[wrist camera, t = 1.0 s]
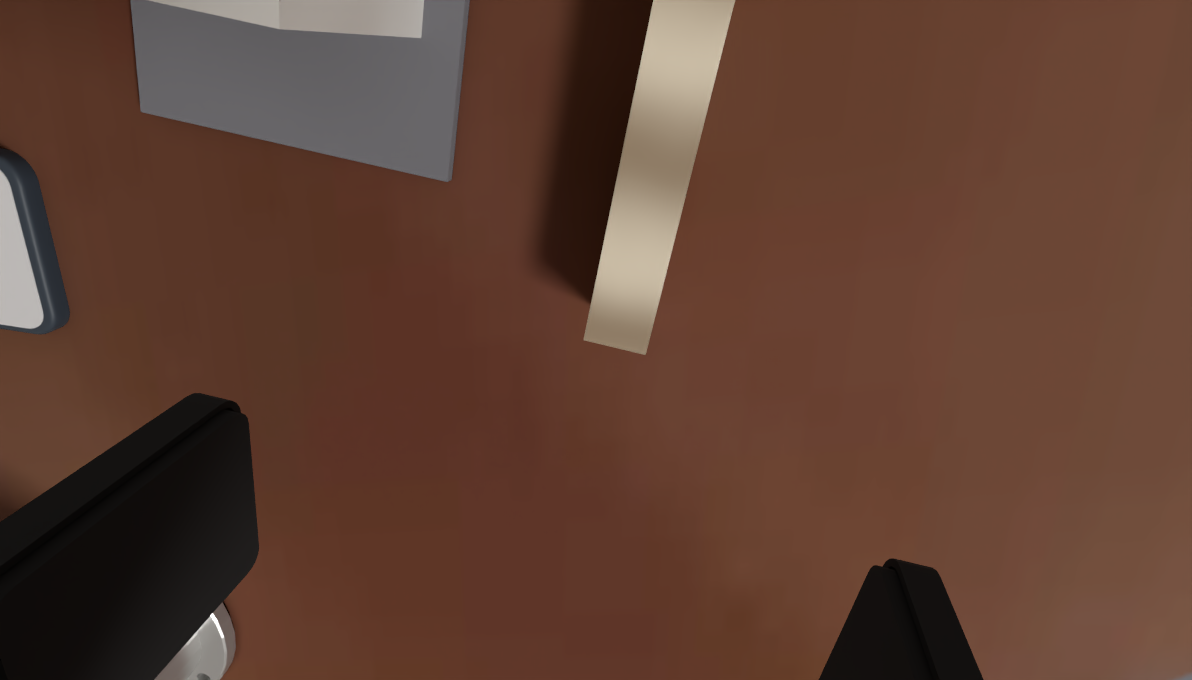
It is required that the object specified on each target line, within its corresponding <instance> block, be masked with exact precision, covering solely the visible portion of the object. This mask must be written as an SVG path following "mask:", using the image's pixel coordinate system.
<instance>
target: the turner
mask: <svg viewBox="0 0 1192 680" xmlns="http://www.w3.org/2000/svg"><path fill="white" fill-rule="evenodd" d="M734 2H735V0H653V4H652V9H651V14H650V19H649V24H648V29H647V34H646V38H645V43H644V48H643V53H642V58H641V63H640V68H639V72H638V77H637V82H636V87H635V92H634V97H633V102H632V107H631V111H630V116H629V121H628V126H627V131H626V136H625V141H624V145H623V150H622V155H621V160H620V165H619V170H618V175H617V180H616V184H615V189H614V194H613V199H612V204H611V209H610V214H609V219H608V223H607V228H606V233H605V238H604V243H603V248H602V253H601V257H600V262H599V267H598V272H597V277H596V282H595V287H594V292H593V296H592V301H591V306H590V311H589V316H588V321H587V326H586V330H585V335H584V340H585V341H590V342H594V343H598V344H602V345H606V346H611V347H615V348H619V349H623V350H627V351H632V352H636V353H640V354H644V355H646V351H647V347H648V343H649V339H650V335H651V331H652V327H653V324H654V320H655V316H656V312H657V308H658V304H659V300H660V296H661V292H662V288H663V284H664V280H665V276H666V272H667V268H668V264H669V260H670V256H671V252H672V248H673V244H674V240H675V236H676V232H677V228H678V224H679V220H680V216H681V212H682V209H683V205H684V201H685V197H686V193H687V189H688V185H689V181H690V177H691V173H692V169H693V165H694V161H695V157H696V153H697V149H698V145H699V141H700V137H701V133H702V129H703V125H704V121H705V117H706V113H707V109H708V105H709V101H710V97H711V93H712V90H713V86H714V82H715V78H716V74H717V70H718V66H719V62H720V58H721V54H722V50H723V46H724V42H725V38H726V34H727V30H728V26H729V22H730V18H731V14H732V10H733V6H734Z"/></svg>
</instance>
